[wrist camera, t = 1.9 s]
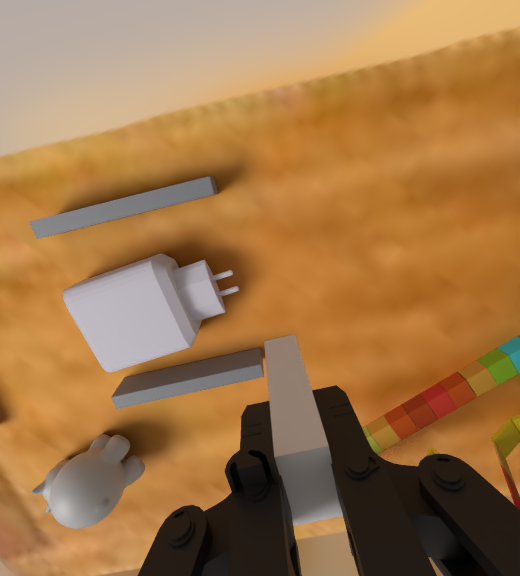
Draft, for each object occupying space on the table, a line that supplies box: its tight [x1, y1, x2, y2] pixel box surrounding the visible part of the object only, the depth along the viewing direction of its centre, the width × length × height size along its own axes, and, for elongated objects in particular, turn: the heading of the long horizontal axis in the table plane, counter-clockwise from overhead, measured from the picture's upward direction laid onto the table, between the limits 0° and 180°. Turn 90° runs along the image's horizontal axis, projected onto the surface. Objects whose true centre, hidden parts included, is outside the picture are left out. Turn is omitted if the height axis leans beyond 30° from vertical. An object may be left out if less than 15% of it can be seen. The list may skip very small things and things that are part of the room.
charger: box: [63, 253, 239, 373], centre depth 30 cm, size 5×9×15 cm
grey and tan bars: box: [29, 176, 264, 409], centre depth 31 cm, size 34×22×4 cm, turn 103°
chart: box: [362, 336, 520, 510], centre depth 31 cm, size 30×3×15 cm, turn 127°
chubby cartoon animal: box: [31, 434, 145, 529], centre depth 35 cm, size 7×12×8 cm, turn 108°
